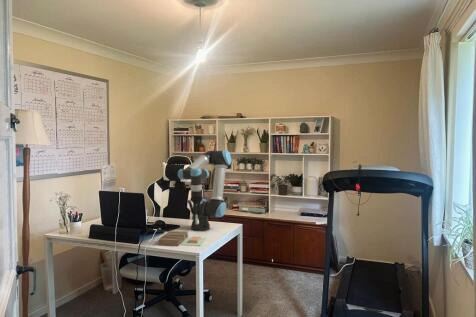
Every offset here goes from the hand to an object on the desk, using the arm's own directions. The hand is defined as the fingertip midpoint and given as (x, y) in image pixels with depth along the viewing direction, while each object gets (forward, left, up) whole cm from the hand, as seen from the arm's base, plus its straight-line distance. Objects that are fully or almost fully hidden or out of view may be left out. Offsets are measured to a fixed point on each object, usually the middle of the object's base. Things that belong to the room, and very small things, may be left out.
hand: (197, 223), depth 244 cm
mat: (+1, -2, -13) cm, 13 cm away
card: (+1, -2, -10) cm, 10 cm away
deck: (+1, -17, -13) cm, 21 cm away
